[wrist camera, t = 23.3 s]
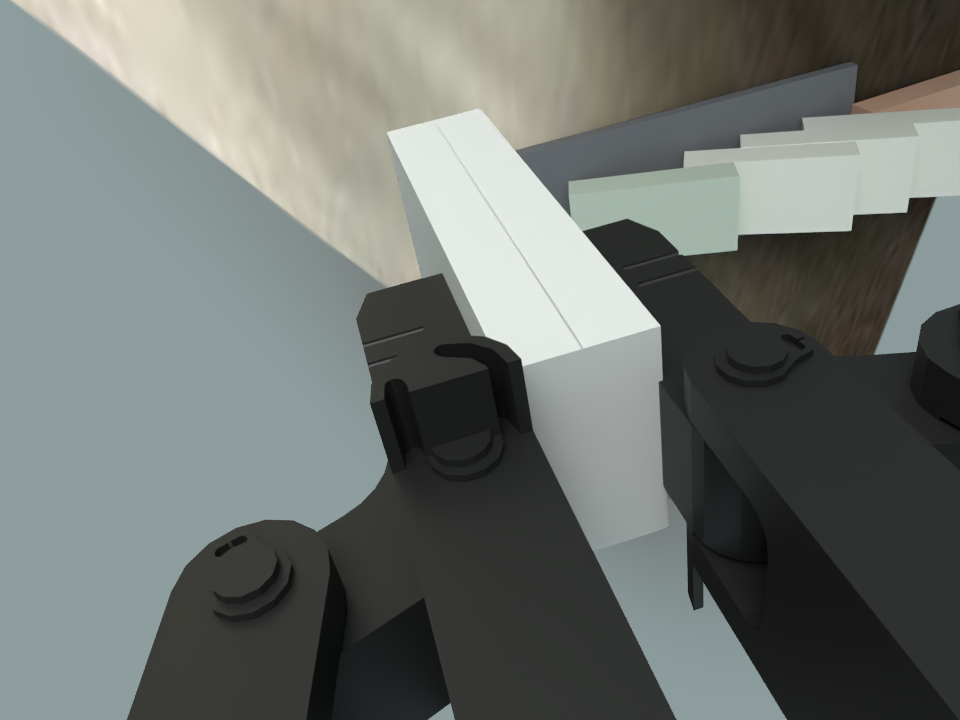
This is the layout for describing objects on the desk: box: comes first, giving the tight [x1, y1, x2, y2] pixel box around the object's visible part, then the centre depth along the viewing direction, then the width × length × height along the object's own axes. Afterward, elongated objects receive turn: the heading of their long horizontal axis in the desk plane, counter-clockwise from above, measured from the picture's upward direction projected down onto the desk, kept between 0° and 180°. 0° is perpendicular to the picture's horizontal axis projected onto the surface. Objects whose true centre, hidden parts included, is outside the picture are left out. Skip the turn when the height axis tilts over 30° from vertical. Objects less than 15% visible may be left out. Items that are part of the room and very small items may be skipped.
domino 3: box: [740, 123, 919, 215], centre depth 52 cm, size 5×2×10 cm
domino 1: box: [568, 162, 739, 256], centre depth 51 cm, size 5×2×10 cm
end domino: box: [851, 70, 960, 115], centre depth 55 cm, size 5×2×10 cm
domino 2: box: [684, 141, 860, 235], centre depth 51 cm, size 5×2×10 cm
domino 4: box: [801, 107, 960, 198], centre depth 52 cm, size 5×2×10 cm
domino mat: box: [516, 62, 858, 237], centre depth 54 cm, size 10×25×1 cm, turn 100°
